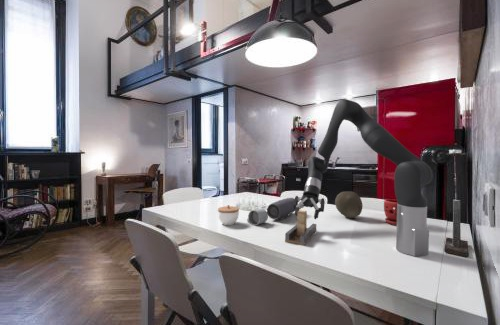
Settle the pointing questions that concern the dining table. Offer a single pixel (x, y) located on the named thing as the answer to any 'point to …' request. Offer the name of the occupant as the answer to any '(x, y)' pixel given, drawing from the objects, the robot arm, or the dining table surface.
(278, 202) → the bluetooth speaker
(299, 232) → the light brown wooden block
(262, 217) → the ceramic mug
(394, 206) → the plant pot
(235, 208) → the lidded jar
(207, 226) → the dining table surface
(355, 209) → the cantaloupe
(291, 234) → the door track
